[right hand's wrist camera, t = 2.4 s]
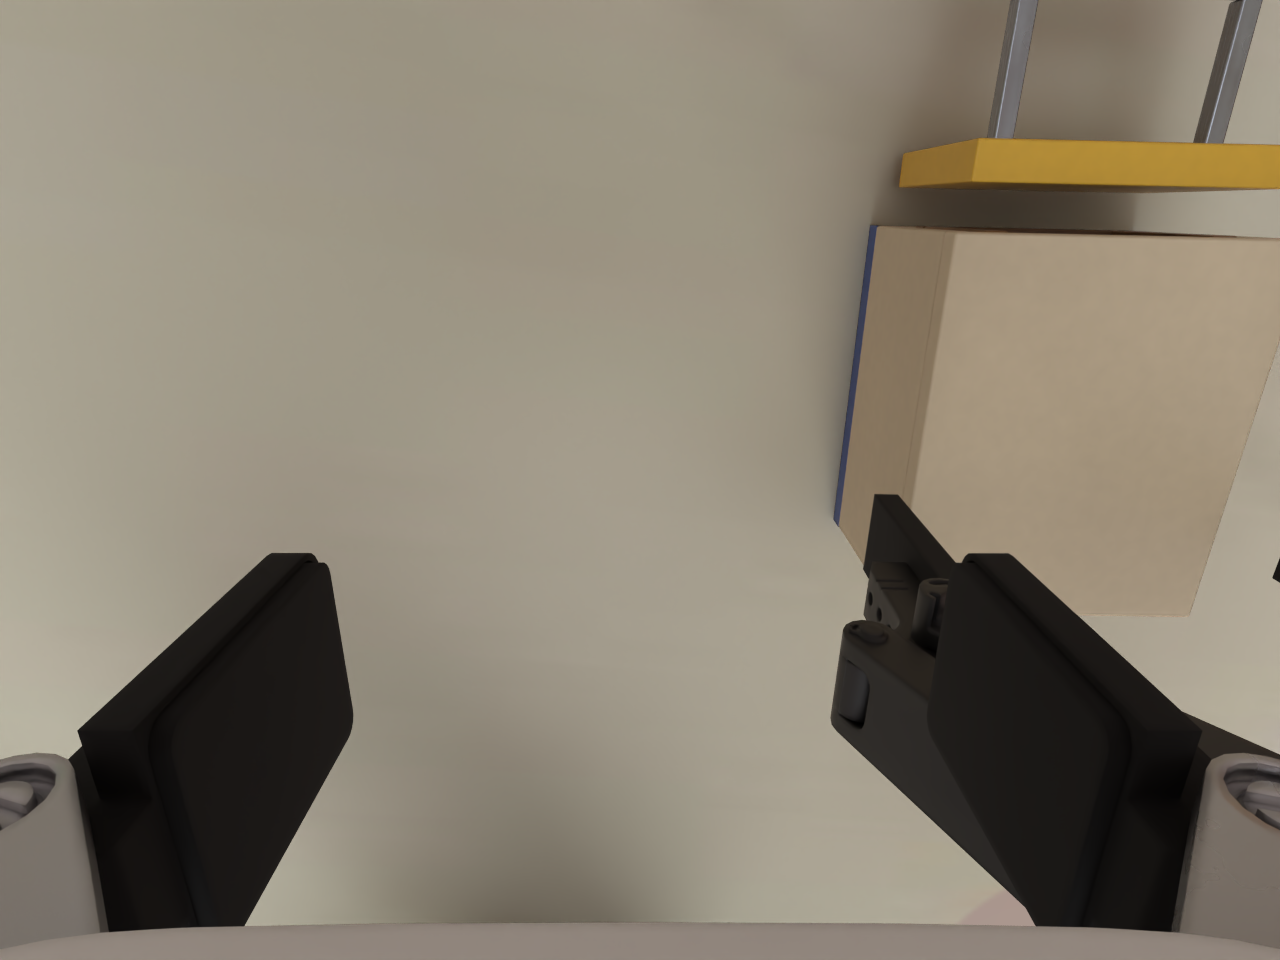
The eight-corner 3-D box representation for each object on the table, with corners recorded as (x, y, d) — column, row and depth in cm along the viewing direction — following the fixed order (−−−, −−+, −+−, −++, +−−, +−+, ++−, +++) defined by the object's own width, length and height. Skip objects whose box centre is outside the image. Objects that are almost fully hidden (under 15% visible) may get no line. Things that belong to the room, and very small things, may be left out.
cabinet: (870, 225, 29) (955, 231, 21) (1133, 231, 29) (1315, 239, 21) (833, 519, 34) (892, 613, 26) (1061, 523, 34) (1190, 618, 26)
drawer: (925, -16, 25) (1016, -86, 19) (1192, -9, 26) (1365, -76, 19) (863, 448, 31) (916, 505, 25) (1079, 452, 31) (1184, 510, 25)
